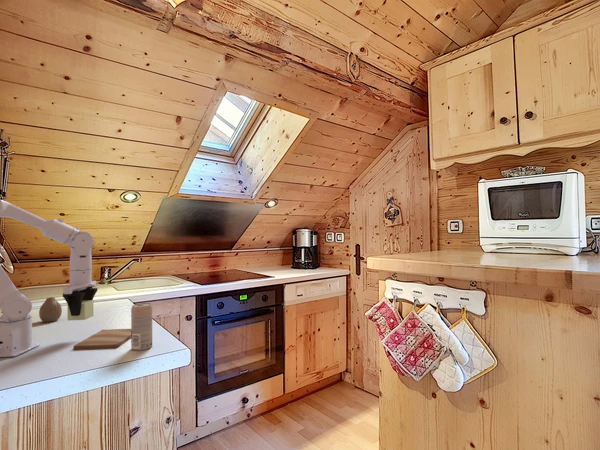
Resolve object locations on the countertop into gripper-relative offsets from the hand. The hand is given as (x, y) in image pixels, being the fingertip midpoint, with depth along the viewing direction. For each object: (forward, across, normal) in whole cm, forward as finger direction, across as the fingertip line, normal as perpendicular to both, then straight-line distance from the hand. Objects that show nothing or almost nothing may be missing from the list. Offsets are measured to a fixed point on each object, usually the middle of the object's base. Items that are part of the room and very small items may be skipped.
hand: (80, 313), depth 105 cm
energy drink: (+8, -12, -23) cm, 27 cm away
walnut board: (+8, -3, -10) cm, 13 cm away
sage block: (+1, 0, 0) cm, 1 cm away
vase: (+8, +24, +24) cm, 35 cm away
